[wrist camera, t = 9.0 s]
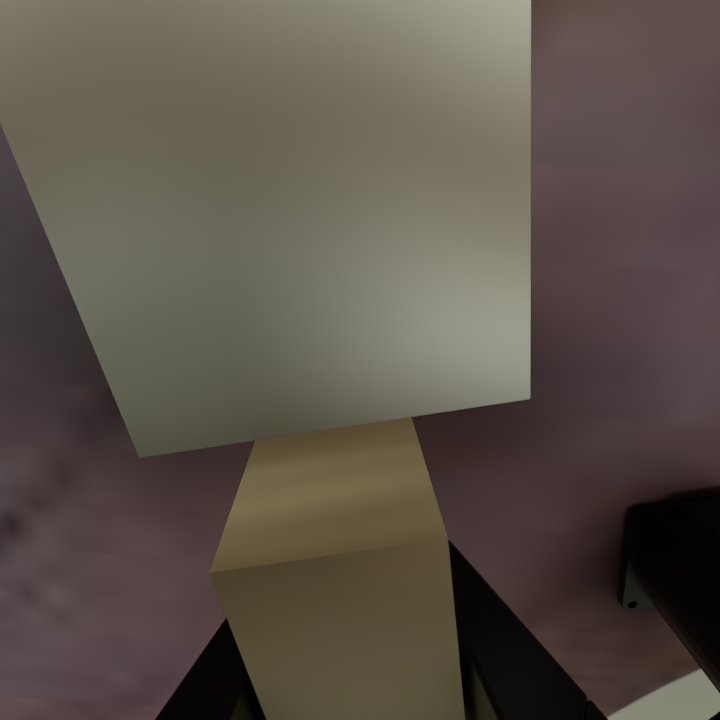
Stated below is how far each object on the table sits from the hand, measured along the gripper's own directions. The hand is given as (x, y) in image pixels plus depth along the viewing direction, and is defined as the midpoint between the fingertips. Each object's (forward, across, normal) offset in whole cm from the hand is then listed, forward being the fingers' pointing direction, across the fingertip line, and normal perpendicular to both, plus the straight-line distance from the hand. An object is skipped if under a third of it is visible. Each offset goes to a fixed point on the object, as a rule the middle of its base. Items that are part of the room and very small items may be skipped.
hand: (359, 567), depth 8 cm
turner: (+1, 0, -1) cm, 2 cm away
